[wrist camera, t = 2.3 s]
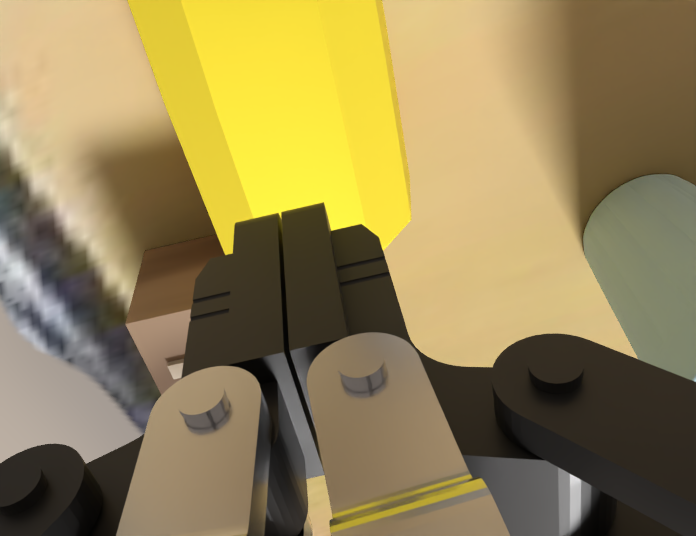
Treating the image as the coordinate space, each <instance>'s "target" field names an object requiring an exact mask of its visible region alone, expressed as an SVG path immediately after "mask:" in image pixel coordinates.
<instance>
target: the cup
mask: <svg viewBox="0 0 696 536" xmlns="http://www.w3.org/2000/svg"><path fill="white" fill-rule="evenodd" d="M583 245H584V254H585V257H586V259H587V261H588V263H589V265H590V267H591V269H592V271H593V273H594V275H595V277H596V279H597V281H598V283H599V285H600V287H601V289H602V291H603V292H604V294H605V296H606V298H607V300H608V302H609V304H610V306H611V308H612V310H613V311H614V313H615V315H616V317H617V319H618V321H619V323H620V325H621V327H622V329H623V330H624V332H625V334H626V336H627V338H628V340H629V342H630V344H631V346H632V348H633V349H634V351H635V353H636V355H637V357H638V359H639V360H641V361H643V362H646V363H649V364H651V365H654V366H656V367H659V368H661V369H664V370H666V371H669V372H672V373H674V374H677V375H679V376H682V377H684V378H687V379H689V380H692V381H695V382H696V186H695V185H694V184H692V183H690V182H688V181H686V180H684V179H682V178H680V177H678V176H675V175H670V174H654V175H647V176H642V177H639V178H636V179H634V180H631V181H629V182H627V183H625V184H623V185H622V186H620V187H618V188H617V189H615V190H614V191H612V192H611V193H610V194H609V195H608V196H606V197H605V198H604V199H603V200H602V202H601V203H600V204H599V205H598V206H597V207H596V208H595V210H594V211H593V213H592V214H591V216H590V219H589V221H588V223H587V225H586V228H585V231H584V235H583Z"/></svg>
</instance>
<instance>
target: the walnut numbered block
mask: <svg viewBox="0 0 696 536" xmlns="http://www.w3.org/2000/svg"><path fill="white" fill-rule="evenodd" d="M223 255H225V253H224V251H223V248H222V246H221V243H220V241H219V238H218V236H217V234H216V235H211V236H207V237H203V238H198V239H194V240H189V241H185V242H181V243H176V244H172V245H168V246H163V247H159V248H155V249H150V250H146V251H145V253H144V256H143V260H142V264H141V268H140V271H139V275H138V279H137V283H136V286H135V290H134V294H133V298H132V301H131V305H130V309H129V313H128V316H127V320H126V326H127V328H128V330H129V332H130V334H131V336H132V338H133V340H134V342H135V344H136V346H137V348H138V350H139V352H140V354H141V355H142V357H143V359H144V361H145V363H146V365H147V367H148V369H149V371H150V373H151V375H152V377H153V379H154V381H155V383H156V385H157V387H158V389H159V391H160V393H161V395H162V394H163V393H164V392H165V391H166V390H167V389H168V388H169V387H171V386H172V385H173V384H175V383H176V382H177V381H179V380H181V376H182V369H183V362H184V356H185V349H186V342H187V335H188V328H189V322H190V321H191V319H190V314H191V307H192V304H193V293H194V286H195V279H196V278H197V276H198V275H199V274H200V272H201V271H202V269H203V268H204V267H205V265H206V264H207V263H208V261H209V260H210V258H215V257H219V256H223Z"/></svg>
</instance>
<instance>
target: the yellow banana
mask: <svg viewBox="0 0 696 536" xmlns="http://www.w3.org/2000/svg"><path fill="white" fill-rule="evenodd" d="M127 1H128V3H129V6H130V9H131V12H132V15H133V17H134V20H135V23H136V26H137V28H138V31H139V34H140V37H141V40H142V42H143V45H144V48H145V51H146V54H147V56H148V59H149V62H150V65H151V67H152V70H153V73H154V76H155V79H156V81H157V84H158V87H159V90H160V92H161V95H162V98H163V101H164V104H165V106H166V109H167V111H168V114H169V116H170V119H171V121H172V124H173V126H174V129H175V131H176V134H177V136H178V139H179V141H180V144H181V146H182V149H183V151H184V154H185V156H186V159H187V161H188V164H189V166H190V169H191V171H192V174H193V176H194V179H195V181H196V184H197V186H198V189H199V191H200V194H201V196H202V199H203V201H204V204H205V206H206V209H207V211H208V214H209V216H210V219H211V221H212V224H213V226H214V229H215V231H216V233H217V236H218V238H219V241H220V243H221V246H222V248H223V251H224V253H225V255H228V254H232V253H233V241H234V226H235V223H236V222H240V221H245V220H249V219H253V218H258V217H262V216H266V215H271V214H275V213H279V215H280V217H281V212H283V211H288V210H292V209H296V208H301V207H305V206H309V205H314V204H318V203H322V202H324V204H325V208H326V211H327V215H328V219H329V223H330V228H331V231H332V230H337V229H341V228H345V227H350V226H354V225H358V224H362V225H364V226H365V227H366V228H368V229H369V230H370V231H371V232H373V233H374V234H375V235H377V236H378V237H379V239H380V243H381V246H382V249H383V250H384V249H385V248H386V247H387V246H388V245H389V244H390V243H391V241H392V240H393V239H394V238H395V237H396V236H397V235H398V234H399V233H400V231H401V230H402V229H403V228H404V227H405V226H406V225H407V224H408V223H409V222H410V220H411V200H410V176H409V170H408V163H407V157H406V150H405V144H404V137H403V131H402V124H401V118H400V111H399V105H398V98H397V92H396V85H395V79H394V72H393V66H392V60H391V53H390V47H389V40H388V34H387V27H386V21H385V15H384V9H383V3H382V0H127ZM281 220H282V219H281Z"/></svg>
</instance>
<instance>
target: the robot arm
mask: <svg viewBox="0 0 696 536" xmlns="http://www.w3.org/2000/svg"><path fill="white" fill-rule="evenodd" d="M281 219H282V220H281ZM190 319H191V321H190V322H189V328H188V335H187V342H186V349H185V356H184V362H183V369H182V376H181V380H179V381H177V382H176V383H175V384H173V385H172V386H171V387H169V388H168V389H167V390H166V391H165V392H164V393H163V394H162V395H161V397H160V398H159V399H158V400H157V402H156V404H155V405H154V407H153V409H152V411H151V414H150V417H149V420H148V424H147V427H146V431H145V434H143V435H142V436H140V437H139V438H137V439H136V440H134V441H132V442H130V443H128V444H126V445H124V446H122V447H120V448H118V449H116V450H114V451H112V452H110V453H108V454H106V455H103V456H102V457H99V458H97V459H95V460H93V461H91V462H89V463H87V464H86V463H85V462H84V460H83V459H82V457H81V456H80V455H79V453H78V452H77V451H76V450H74V449H73V448H71V447H69V446H66V445H62V444H45V445H41V446H36V447H33V448H30V449H27V450H24V451H22V452H20V453H17V454H15V455H14V456H12V457H10V458H8V459H6V460H5V461H4V462H2V463H0V536H313V532H312V524H311V521H310V517H309V515H308V496H307V483H306V479H308V478H313V477H317V476H322V475H325V480H326V485H327V490H328V495H329V500H330V505H331V510H332V516H333V519H331V520H330V533H331V536H696V382H695V381H692V380H689V379H687V378H684V377H682V376H679V375H677V374H674V373H672V372H669V371H666V370H664V369H661V368H659V367H656V366H654V365H651V364H649V363H646V362H643V361H641V360H638V359H636V358H633V357H631V356H628V355H626V354H623V353H620V352H618V351H615V350H613V349H610V348H608V347H605V346H603V345H600V344H597V343H595V342H592V341H590V340H587V339H584V338H581V337H577V336H572V335H567V334H542V335H535V336H532V337H528V338H525V339H522V340H520V341H517V342H516V343H514V344H512V345H510V346H509V347H508V348H506V349H505V350H504V351H503V352H502V353H501V354H500V355H499V357H498V358H497V359H496V361H495V363H494V365H493V368H489V367H461V366H453V365H448V364H444V363H441V362H438V361H435V360H433V359H431V358H429V357H427V356H426V355H424V354H423V353H421V352H420V351H419V350H418V349H417V348H416V347H415V346H414V344H413V343H412V342H411V340H410V338H409V335H408V332H407V329H406V326H405V322H404V319H403V316H402V312H401V309H400V306H399V302H398V299H397V296H396V292H395V289H394V286H393V282H392V279H391V276H390V273H389V269H388V266H387V263H386V260H385V256H384V253H383V249H382V246H381V243H380V239H379V237H378V236H377V235H375V234H374V233H373V232H371V231H370V230H369V229H368V228H366V227H365V226H364V225H362V224H358V225H354V226H350V227H345V228H341V229H337V230H332V231H331V228H330V223H329V219H328V215H327V211H326V208H325V204H324V202H322V203H318V204H314V205H309V206H305V207H301V208H296V209H292V210H288V211H283V212H281V217H280V215H279V213H275V214H271V215H266V216H262V217H258V218H253V219H249V220H245V221H240V222H236V223H235V226H234V241H233V253H232V254H228V255H223V256H219V257H215V258H210V260H209V261H208V263H207V264H206V265H205V267H204V268H203V269H202V271H201V272H200V274H199V275H198V276H197V278H196V279H195V286H194V293H193V304H192V307H191V314H190Z"/></svg>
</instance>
